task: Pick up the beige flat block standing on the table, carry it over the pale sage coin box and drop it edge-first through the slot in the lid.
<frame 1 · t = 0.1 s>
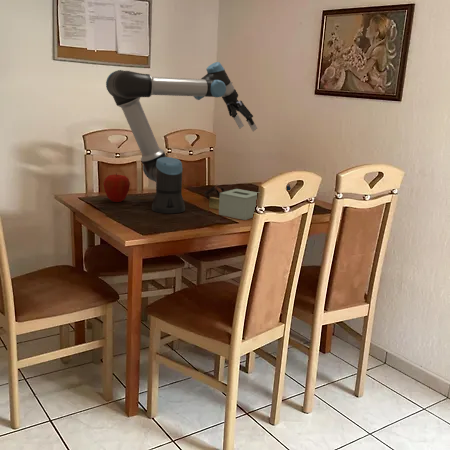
hand: (248, 128, 268), 36 cm above the table, tool tilted 35°, fingers open, 13 cm apart
beige flat block: (215, 208, 252), on the table
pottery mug: (216, 200, 271), on the table
coin box: (239, 214, 242), on the table
apple: (116, 202, 256), on the table
soda can: (282, 209, 257), on the table
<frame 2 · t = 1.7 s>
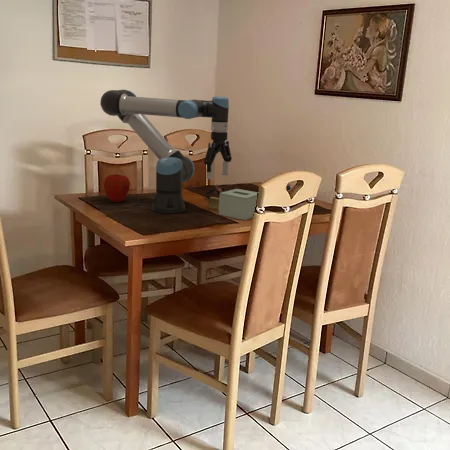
hand: (217, 177, 248), 15 cm above the table, tool pointing down, fingers open, 13 cm apart
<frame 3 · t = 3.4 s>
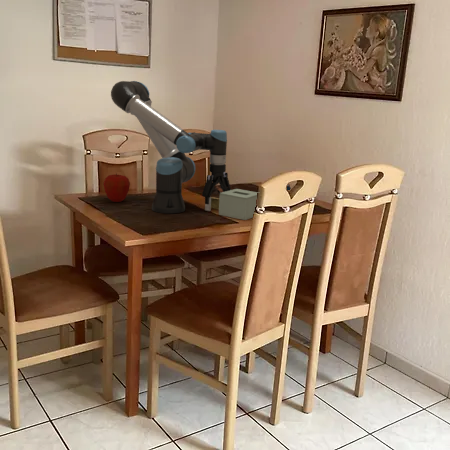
hand: (216, 208, 252), 0 cm above the table, tool pointing down, fingers open, 13 cm apart
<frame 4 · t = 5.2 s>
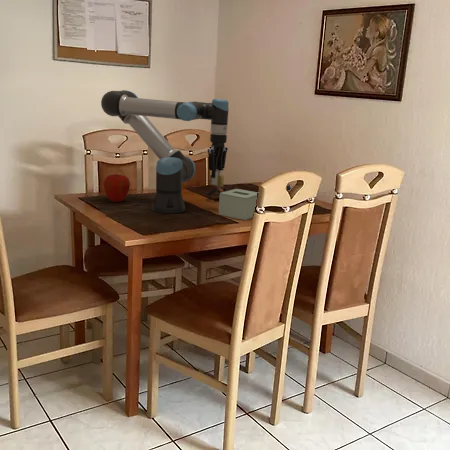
hand: (215, 184, 249), 12 cm above the table, tool pointing down, fingers closed on beige flat block, 2 cm apart
beige flat block: (216, 185, 249), point 11 cm above the table, touching gripper
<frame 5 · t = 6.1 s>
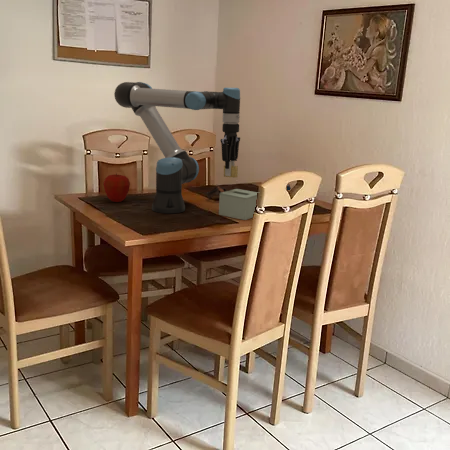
hand: (229, 175, 243), 17 cm above the table, tool pointing down, fingers closed on beige flat block, 2 cm apart
beige flat block: (230, 176, 243), point 16 cm above the table, touching gripper
when the fingers open (11 cm above the table, at t = 7.6 s): beige flat block drops 10 cm, resting in coin box.
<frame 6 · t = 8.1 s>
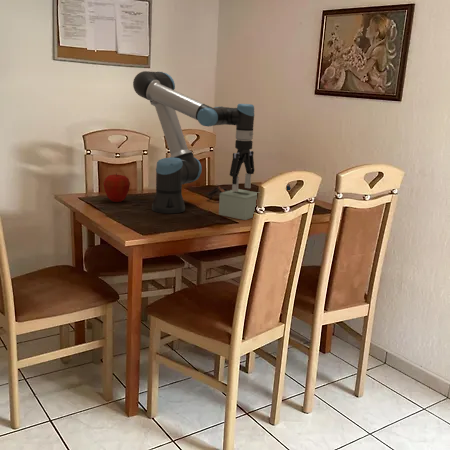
hand: (241, 189, 239), 12 cm above the table, tool pointing down, fingers open, 10 cm apart
beige flat block: (240, 215, 242), resting in coin box
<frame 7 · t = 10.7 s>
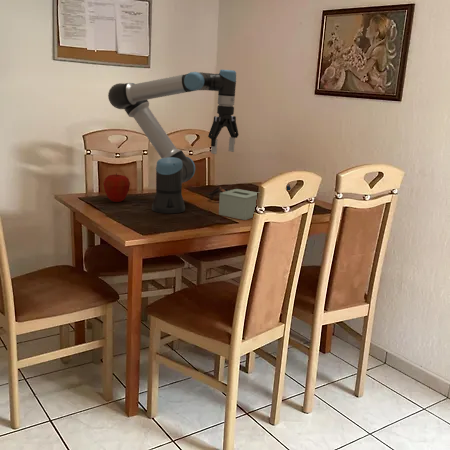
hand: (222, 152, 244), 27 cm above the table, tool pointing down, fingers open, 13 cm apart
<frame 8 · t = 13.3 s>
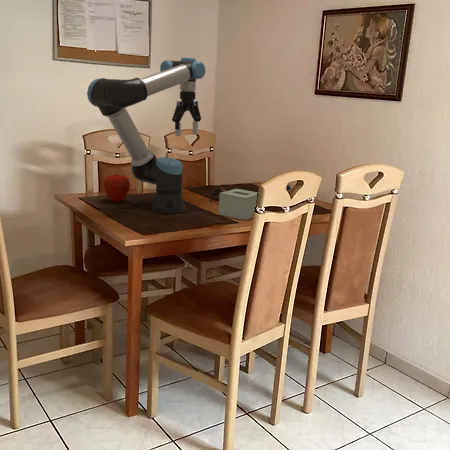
hand: (186, 135, 262), 32 cm above the table, tool pointing down, fingers open, 13 cm apart
at the end: beige flat block inside the target area on the coin box (0.6 cm from its centre), point 0.0 cm above the coin box's base; the gripper is holding nothing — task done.
